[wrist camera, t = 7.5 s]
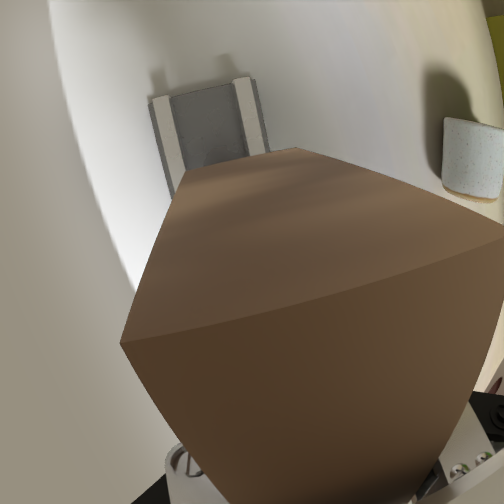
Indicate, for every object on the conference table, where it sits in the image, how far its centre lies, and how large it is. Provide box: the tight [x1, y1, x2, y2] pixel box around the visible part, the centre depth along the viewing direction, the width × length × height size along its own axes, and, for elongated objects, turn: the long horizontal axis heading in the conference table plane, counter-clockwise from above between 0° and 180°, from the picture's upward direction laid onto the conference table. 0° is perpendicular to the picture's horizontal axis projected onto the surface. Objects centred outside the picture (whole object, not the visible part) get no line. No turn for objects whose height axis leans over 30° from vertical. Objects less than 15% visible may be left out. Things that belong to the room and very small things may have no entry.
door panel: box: [120, 147, 504, 504], centre depth 8 cm, size 4×12×8 cm, turn 11°
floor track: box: [148, 76, 270, 200], centre depth 26 cm, size 9×20×4 cm, turn 12°
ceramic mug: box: [441, 117, 504, 203], centre depth 26 cm, size 11×8×8 cm
